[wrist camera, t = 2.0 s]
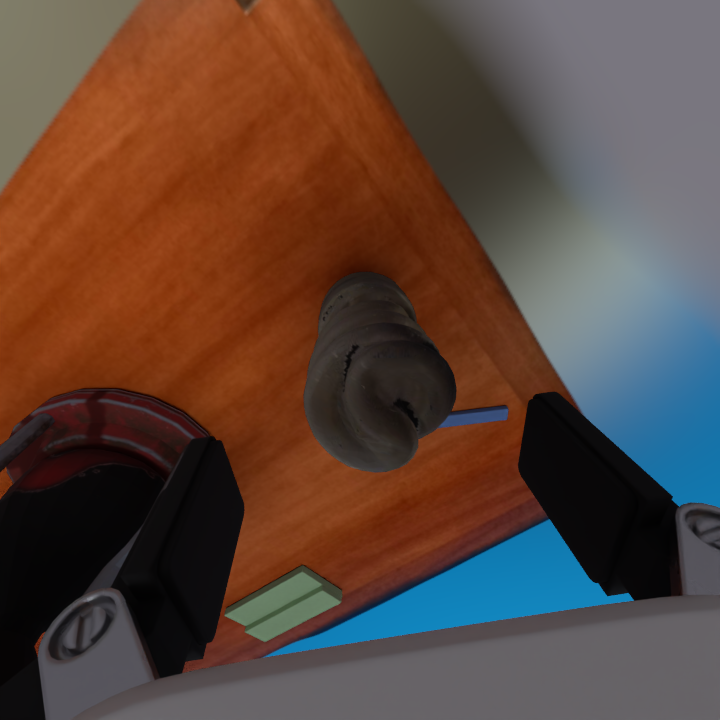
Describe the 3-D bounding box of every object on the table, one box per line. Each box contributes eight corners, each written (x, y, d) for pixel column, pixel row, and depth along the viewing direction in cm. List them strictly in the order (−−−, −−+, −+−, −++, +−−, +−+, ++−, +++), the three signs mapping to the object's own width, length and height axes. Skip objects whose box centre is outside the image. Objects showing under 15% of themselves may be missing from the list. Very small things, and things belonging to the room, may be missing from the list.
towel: (302, 564, 38) (301, 577, 37) (342, 590, 41) (342, 603, 40) (225, 608, 41) (222, 621, 40) (268, 629, 44) (266, 642, 43)
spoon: (508, 389, 29) (512, 394, 29) (502, 430, 31) (506, 435, 31) (353, 408, 29) (353, 413, 28) (357, 448, 31) (358, 453, 30)
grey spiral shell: (359, 343, 26) (389, 513, 13) (300, 299, 24) (265, 445, 11) (411, 287, 25) (506, 416, 11) (352, 234, 23) (383, 316, 9)
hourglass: (140, 353, 25) (-1150, 1561, 3) (260, 490, 33) (118, 1147, 11) (-29, 436, 27) (-1504, 1508, 5) (120, 547, 35) (-243, 1194, 13)
